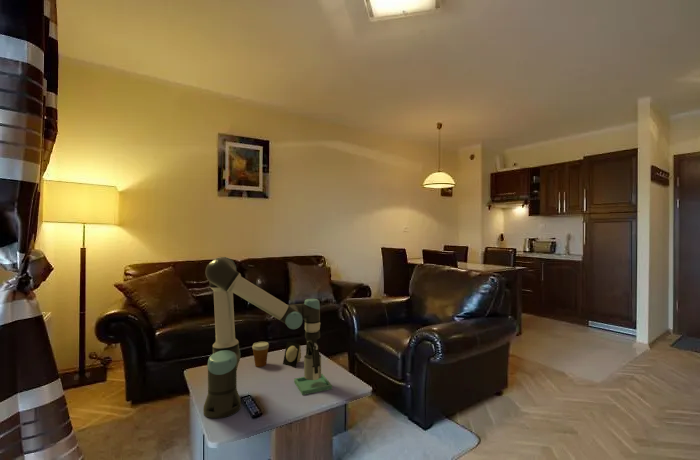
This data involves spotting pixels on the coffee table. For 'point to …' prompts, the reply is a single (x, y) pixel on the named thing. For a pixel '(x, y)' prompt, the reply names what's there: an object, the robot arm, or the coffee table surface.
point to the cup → (310, 367)
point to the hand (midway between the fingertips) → (312, 375)
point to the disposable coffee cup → (260, 353)
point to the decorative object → (292, 354)
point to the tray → (312, 385)
